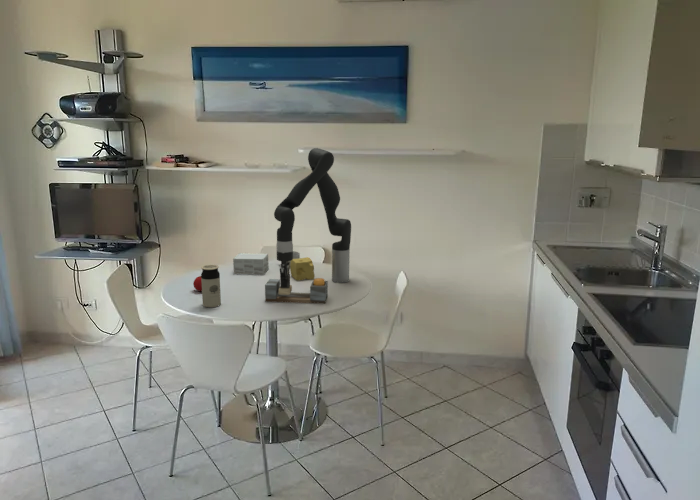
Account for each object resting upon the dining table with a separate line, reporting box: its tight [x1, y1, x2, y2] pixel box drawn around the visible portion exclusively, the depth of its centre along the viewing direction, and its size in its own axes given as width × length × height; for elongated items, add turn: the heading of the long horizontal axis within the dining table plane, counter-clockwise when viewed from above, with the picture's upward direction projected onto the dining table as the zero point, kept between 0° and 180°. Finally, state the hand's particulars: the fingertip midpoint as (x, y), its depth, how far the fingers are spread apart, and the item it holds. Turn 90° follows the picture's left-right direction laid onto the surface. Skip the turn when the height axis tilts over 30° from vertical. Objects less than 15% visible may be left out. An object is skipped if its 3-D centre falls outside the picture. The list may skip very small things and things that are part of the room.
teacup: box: [289, 250, 301, 263], centre depth 301 cm, size 14×11×8 cm
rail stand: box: [264, 278, 329, 305], centre depth 243 cm, size 10×28×8 cm, turn 86°
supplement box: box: [232, 252, 270, 276], centre depth 289 cm, size 17×13×9 cm
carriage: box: [279, 273, 293, 295], centre depth 243 cm, size 7×5×8 cm
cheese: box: [289, 256, 316, 282], centre depth 278 cm, size 10×11×10 cm
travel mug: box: [200, 264, 222, 308], centre depth 233 cm, size 8×8×18 cm
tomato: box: [193, 275, 202, 292], centre depth 254 cm, size 9×9×8 cm
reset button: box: [313, 277, 325, 286], centre depth 242 cm, size 5×5×4 cm
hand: (285, 285), depth 243 cm, fingers closed on carriage, 3 cm apart
